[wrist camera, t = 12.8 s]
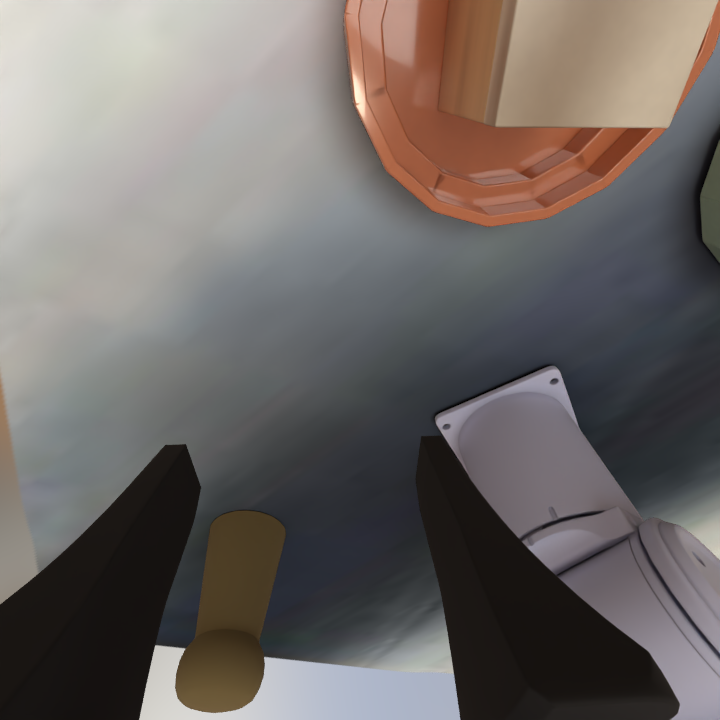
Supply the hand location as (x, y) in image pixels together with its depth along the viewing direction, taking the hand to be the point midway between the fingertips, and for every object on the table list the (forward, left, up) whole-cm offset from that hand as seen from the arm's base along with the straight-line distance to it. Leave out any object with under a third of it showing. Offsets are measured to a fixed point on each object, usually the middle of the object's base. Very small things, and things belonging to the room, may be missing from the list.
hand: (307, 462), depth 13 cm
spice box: (+6, -12, -10) cm, 17 cm away
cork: (-14, +16, -11) cm, 24 cm away
